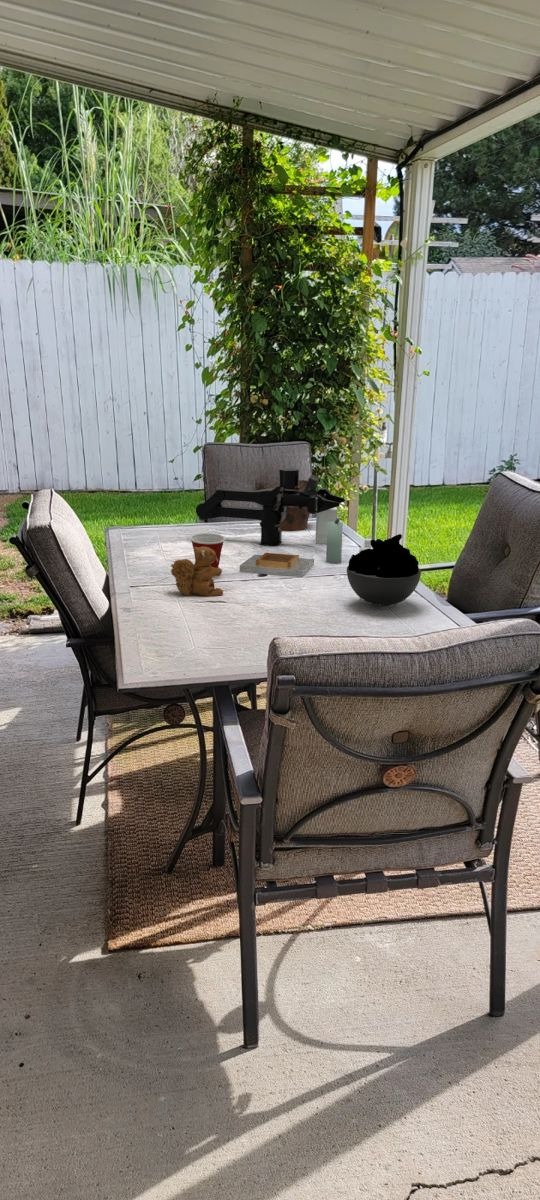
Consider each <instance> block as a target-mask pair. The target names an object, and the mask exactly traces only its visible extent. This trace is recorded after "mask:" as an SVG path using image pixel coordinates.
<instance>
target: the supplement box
mask: <svg viewBox="0 0 540 1200" xmlns="http://www.w3.org/2000/svg"><path fill="white" fill-rule="evenodd" d="M338 511H339V510H338V507H335V508H331V509H328V510H325V511H322V512H319V513H316V514H315V516H316V517H315V518H316V520H315V543H316V544H318V545H327V522H330V521H335V520H336V518H338Z"/></svg>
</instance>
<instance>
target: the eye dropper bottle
mask: <svg viewBox="0 0 540 1200" xmlns="http://www.w3.org/2000/svg"><path fill="white" fill-rule="evenodd" d="M371 540H373V539H372V538H371V534H368V535H367V537H366V538H364V545H363V546H361V547H359V551H358V553H359V552H360V551H362V550H365V549H373V548H372V546H371Z"/></svg>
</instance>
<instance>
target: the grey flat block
mask: <svg viewBox="0 0 540 1200" xmlns="http://www.w3.org/2000/svg"><path fill="white" fill-rule="evenodd" d="M314 566H315V559H314V558H304V557H300V555H299V554H298V555H297V554H287V553H274V552H264V554H254V555H251V556H250V557H249V558H248V559H247V560H245V561H243V563H241V564H240V565H239V572H240V573H249V574H251V573H252V574H262V575H263V574H264V575H274V576H285V577H286V576H287V577H297V578H302V577H304V576H305V575H306V574H307V573H308V572H309V571H310V570H311V569H312V568H313V567H314Z"/></svg>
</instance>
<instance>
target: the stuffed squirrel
mask: <svg viewBox="0 0 540 1200" xmlns="http://www.w3.org/2000/svg"><path fill="white" fill-rule="evenodd" d="M194 552H195V555H194V563H193V562H192V561H191V560H190V559H188V558H183V559H178V560H176V559H175V561H173V564H170V567H171V569H170V573H171V575H172V576H173V577H174V578H175V582H176V583H175V586H176V588H177V591H178V592H179V593H181V594H182V595H185V596H187V597H188V596H191V595H198V596H201V597H215V596H217V597H218V596H222V595H223V594H224V590H223V589H222V588H219V587H216V588H215V579H214V577H219V576H221V575H222V572H223V569H222V568H220V567H219V566H218V568H214V567H211V565H210V564H211V563H213V562H214V561H215V559H216V560H217V557H216V553H215V551H214V550H212V549H211V548H209V547H199V548H198V547H194V549H193V553H194ZM217 562H218V560H217Z"/></svg>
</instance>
